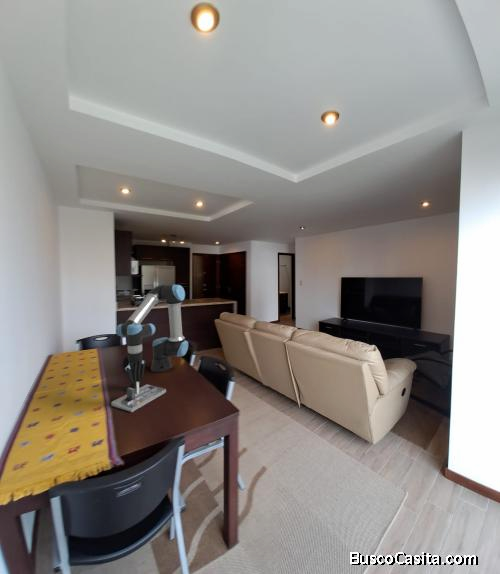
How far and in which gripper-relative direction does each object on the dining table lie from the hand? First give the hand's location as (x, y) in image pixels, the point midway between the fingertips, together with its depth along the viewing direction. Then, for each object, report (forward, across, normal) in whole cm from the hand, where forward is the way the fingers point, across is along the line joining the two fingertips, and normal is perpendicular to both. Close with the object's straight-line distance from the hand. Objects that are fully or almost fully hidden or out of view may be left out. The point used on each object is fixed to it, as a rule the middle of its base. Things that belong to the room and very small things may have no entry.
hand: (136, 393), depth 136 cm
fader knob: (+2, +4, 0) cm, 4 cm away
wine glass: (+5, -10, -16) cm, 20 cm away
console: (+4, -2, 0) cm, 5 cm away
